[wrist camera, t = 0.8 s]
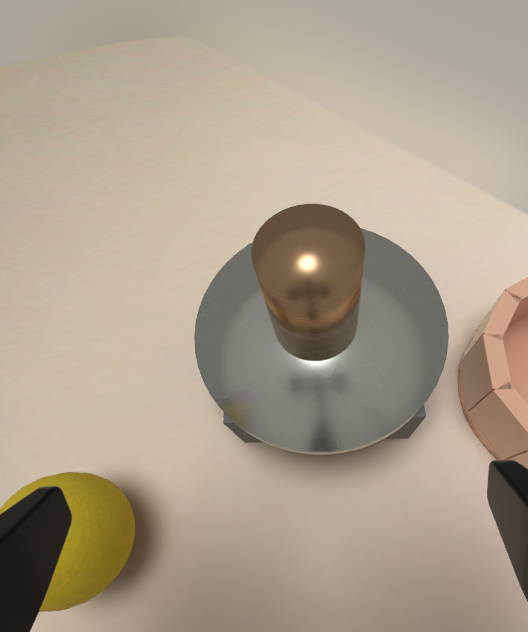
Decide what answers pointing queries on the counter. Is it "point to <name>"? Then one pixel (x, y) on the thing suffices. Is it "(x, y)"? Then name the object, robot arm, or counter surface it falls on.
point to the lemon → (87, 537)
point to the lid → (320, 334)
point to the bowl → (499, 377)
